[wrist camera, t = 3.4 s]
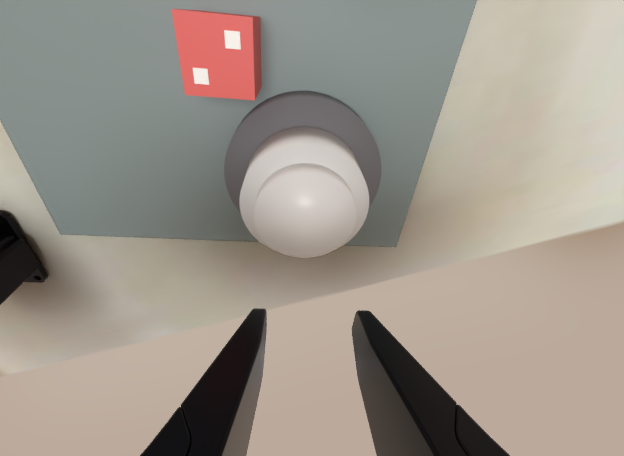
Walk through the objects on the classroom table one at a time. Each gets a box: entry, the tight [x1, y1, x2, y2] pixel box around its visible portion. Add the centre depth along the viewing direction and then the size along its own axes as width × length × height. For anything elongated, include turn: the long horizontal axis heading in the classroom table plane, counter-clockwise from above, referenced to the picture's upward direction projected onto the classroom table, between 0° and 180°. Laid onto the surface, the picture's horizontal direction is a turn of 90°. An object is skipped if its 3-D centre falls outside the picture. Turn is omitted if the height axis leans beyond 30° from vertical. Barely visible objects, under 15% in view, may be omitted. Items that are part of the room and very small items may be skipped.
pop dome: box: [239, 127, 369, 258], centre depth 15 cm, size 6×6×4 cm
